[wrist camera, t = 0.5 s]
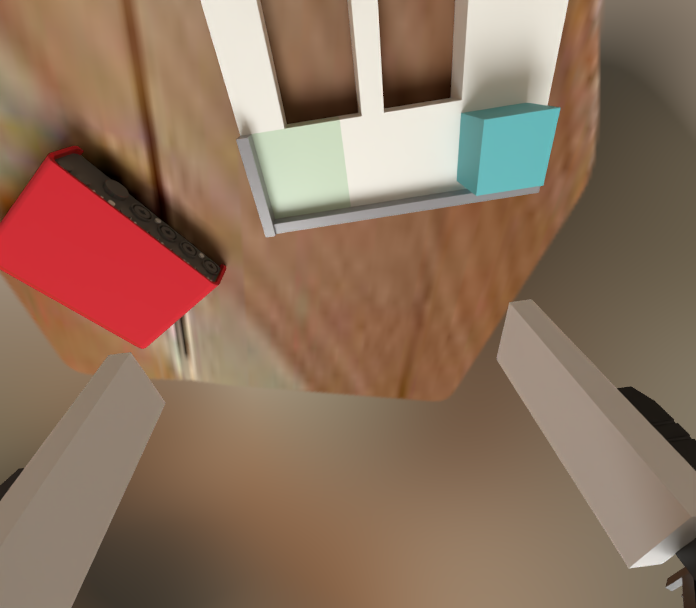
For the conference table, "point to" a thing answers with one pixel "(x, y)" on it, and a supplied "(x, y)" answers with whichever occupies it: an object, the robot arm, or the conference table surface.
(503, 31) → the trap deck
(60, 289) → the red device housing
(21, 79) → the conference table surface
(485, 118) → the teal block
